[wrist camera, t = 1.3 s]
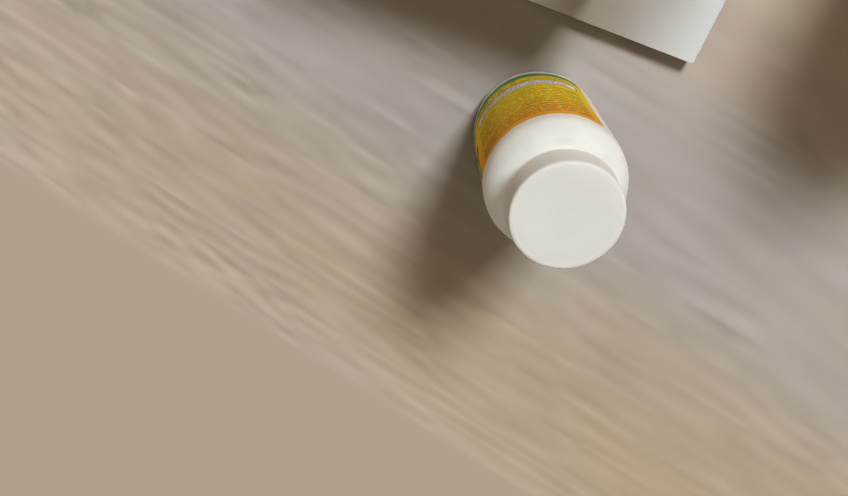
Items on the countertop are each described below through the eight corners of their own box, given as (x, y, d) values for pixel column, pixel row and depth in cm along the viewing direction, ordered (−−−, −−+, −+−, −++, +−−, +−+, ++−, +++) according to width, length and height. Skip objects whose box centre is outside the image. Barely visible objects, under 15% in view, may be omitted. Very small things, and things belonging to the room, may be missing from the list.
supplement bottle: (618, 133, 36) (680, 226, 27) (522, 206, 37) (552, 315, 29) (544, 40, 34) (586, 109, 25) (446, 121, 36) (455, 211, 27)
